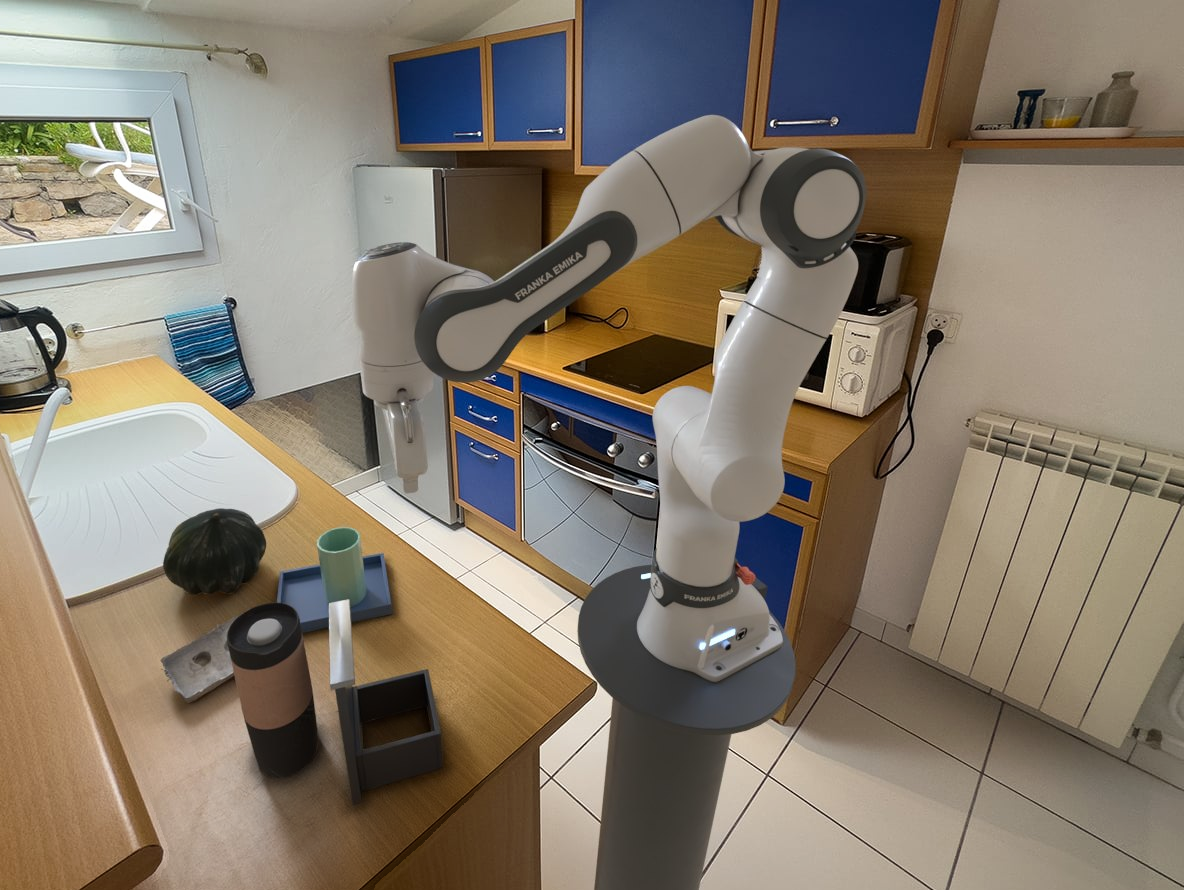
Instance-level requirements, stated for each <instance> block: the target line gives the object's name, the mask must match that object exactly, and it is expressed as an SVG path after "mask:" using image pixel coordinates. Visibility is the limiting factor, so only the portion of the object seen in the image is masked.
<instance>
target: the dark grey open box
mask: <svg viewBox="0 0 1184 890" xmlns="http://www.w3.org/2000/svg"><path fill="white" fill-rule="evenodd" d="M328 639H329V640H328V644H329V645H328V648H329V651H328V652H329V687H330V688H329V689H330V691H334V693H335V699H336V706H337V712H338V718H339V726H340V731H341V737H342V745H343V751H344V757H345V764H346V772H347V778H348V784H349V791H350V798H351V804H352V805H356V804H359V803H362V801H363V800H362V792H365V791H369V790H372V789H376V788H379V787H383V786H385V785H389V784H393V783H396V782H400V781H403V780H407V779H410V778H413V777H416V776H420V775H424V774H427V773H431V772H435V771H438V770H441V769H443V768H444V758H443V757H444V756H443V741H442V730H441V726H440V725H441V724H440V720H439V716H438V711H437V705H436V702H435V696H434V690H433V686H432V681H431V677H430V676H431V675H430V670H429V668H427V669H426V668H425V669H421V670H417V671H413V672H408V673H405V674H401V675H397V676H393V677H388V678H383V679H379V680H376V681H371V682H368V683H363V684H359V685H356V675H355V674H356V673H355V658H354V645H353V644H354V643H353V626H352V622H351V609H350V599H347V600H342V601H337V602H332V603H329V627H328ZM420 708H426V710H427V715H428V721H429V726H430V730H431V731H429V732H425V733H421V734H416V735H414V736H409V737H406V738H403V739H399V740H395V741H391V742H388V743H384V744H379V745H376V746H373V747H369V748H366V749H364V739H363V738H364V737H363V724H364V723H367V722H371V721H374V720H378V719H383V718H386V717H389V716H394V715H397V714H401V713H407V712H409V711H413V710H417V709H420ZM362 723H363V724H362Z"/></svg>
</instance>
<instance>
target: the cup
mask: <svg viewBox="0 0 1184 890" xmlns="http://www.w3.org/2000/svg"><path fill="white" fill-rule="evenodd" d="M316 548H317V555H318V561H319V564H320V569H321V576H322V582H323V589H324V596H325V600H326V603H327V604H328V605H329V603H332V602H337V601H342V600H347V599H350V607H353V606H355V605H357V604H358V603H360V602H361V601H362V600H363V599H364V597H365V595H366V583H365V574H364V565H363V556H364V555H363V548H362V540H361V533H360V532H359V531H358V529H356V528H353V527H350V526H340V527H339V526H338V527H334V528H331V529H328V530H326V531H325V532H323V533H322V534H321V535H319V537H318V539H317V540H316Z"/></svg>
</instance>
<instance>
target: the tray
mask: <svg viewBox="0 0 1184 890" xmlns="http://www.w3.org/2000/svg"><path fill="white" fill-rule="evenodd" d="M362 556H363V565H364V574H365V583H366V595H365V597H364V599H363V600H362V601H361V602H360V603H358V604H357V605H355V606H353V607H350V609H351V623H354V622H360V621H364V620H370V619H374V618H380V617H384V616H388V615H390V616H391V615H393V607H392V600H391V592H390V587H389V580H388V572H387V566H386V559H385V553H384V552H380V553H375V554H374V553H373V554H369V555H362ZM278 575H279V576H278V586H277V594H276V595H277V596H276V602H279V603H285V604H288V605H290V606H292V607H293V608H294V609H295V610H296V611H297V613H298V615H299V619H300V624H301V629H302V634H304V633H309V632H313V631H318V630H322V629H329V605H328V604H327V603H326V600H325V596H324V589H323V582H322V576H321V569H320V563H318V564H313V565H308V566H302V567H297V568H291V569H286V570H281V571H279V574H278Z"/></svg>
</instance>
